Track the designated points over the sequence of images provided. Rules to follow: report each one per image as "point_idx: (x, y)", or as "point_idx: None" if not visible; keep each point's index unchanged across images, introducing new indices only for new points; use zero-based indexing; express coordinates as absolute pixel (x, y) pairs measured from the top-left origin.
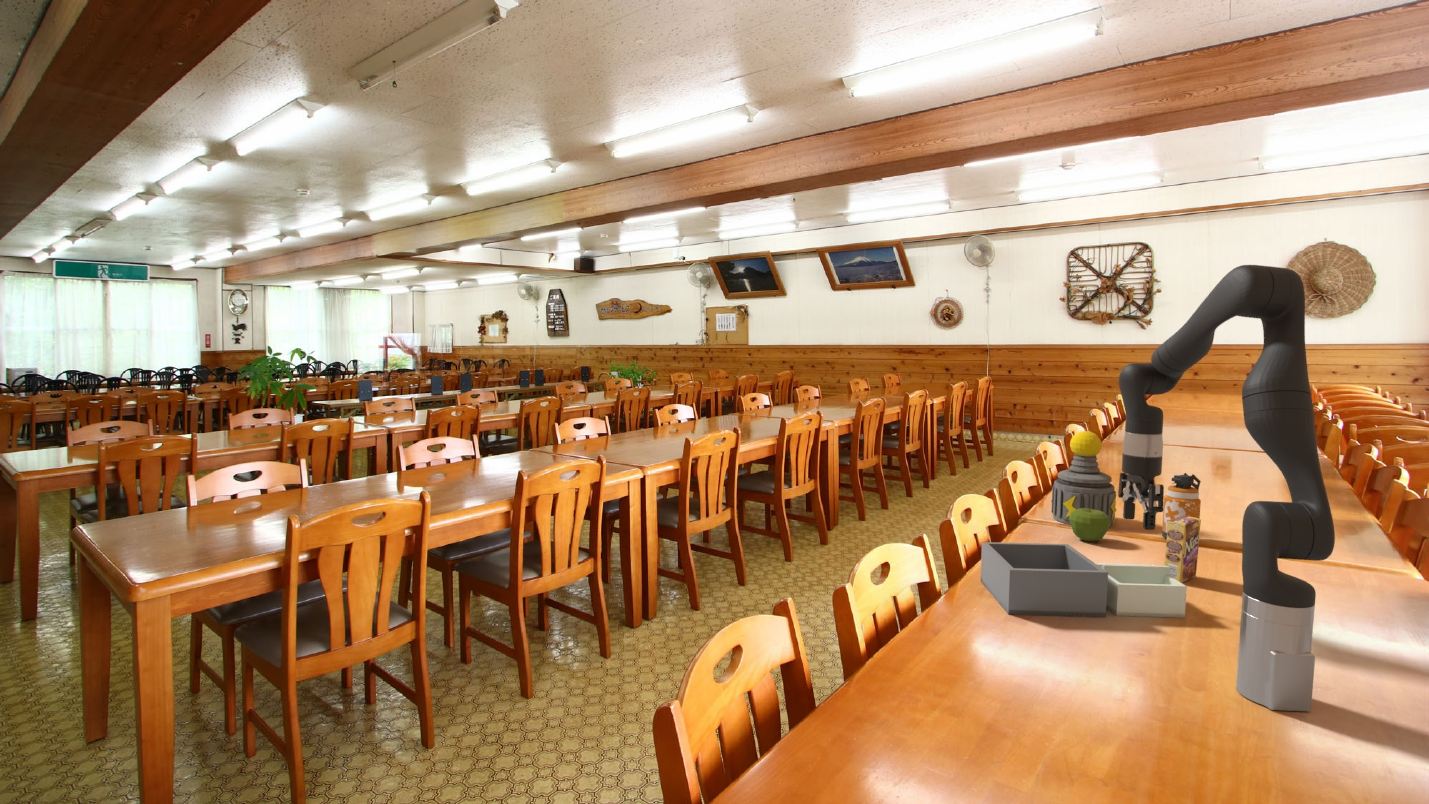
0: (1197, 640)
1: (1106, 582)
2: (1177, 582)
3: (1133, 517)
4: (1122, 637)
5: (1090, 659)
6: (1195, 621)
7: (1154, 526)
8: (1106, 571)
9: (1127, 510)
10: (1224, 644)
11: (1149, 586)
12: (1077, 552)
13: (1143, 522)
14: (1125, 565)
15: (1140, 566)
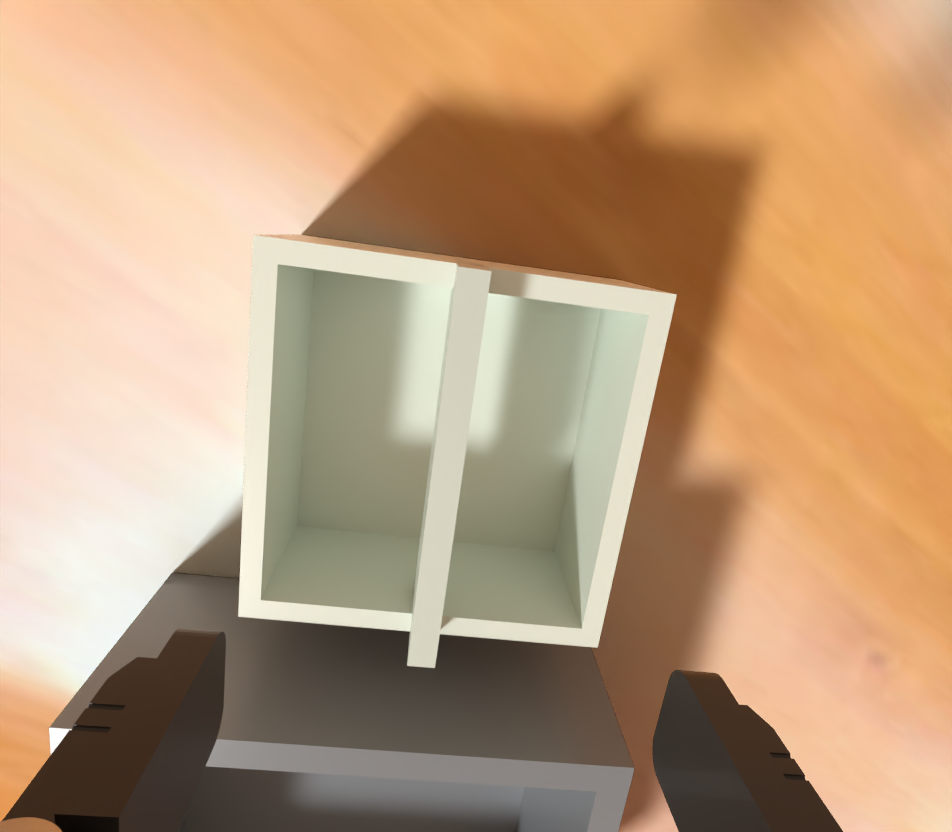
0: (831, 396)
1: (615, 726)
2: (609, 304)
3: (217, 649)
4: (751, 647)
5: (868, 813)
6: (662, 258)
7: (762, 723)
8: (616, 766)
9: (174, 803)
10: (886, 313)
11: (627, 496)
12: (250, 753)
13: (689, 828)
14: (441, 549)
15: (462, 466)
